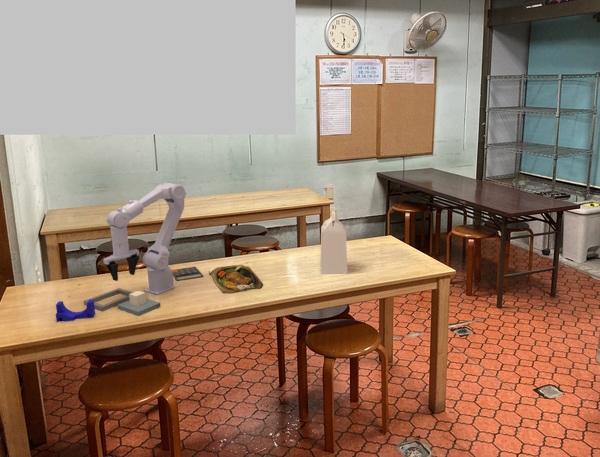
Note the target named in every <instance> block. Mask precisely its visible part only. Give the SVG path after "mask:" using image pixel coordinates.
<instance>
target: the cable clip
mask: <svg viewBox="0 0 600 457" xmlns="http://www.w3.org/2000/svg"><path fill="white" fill-rule="evenodd" d="M55 308H56V313H55V319H56V320H55V321H56V323H60V322H59V321H64V322H75V321H76V320H79V319H94V318H95V316H96V309H95V307H94V299H91V300H89V301H88V302H87V306H86V308H84V309H83V310H82V311H72V310H69V309H68V308H67V307H66V305H65V304H64V301H61V300H60V301H57V303H55ZM74 320H75V321H74Z"/></svg>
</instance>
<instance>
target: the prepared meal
mask: <svg viewBox="0 0 600 457" xmlns="http://www.w3.org/2000/svg"><path fill="white" fill-rule="evenodd" d="M208 273H209V274H208V276H212V279H213V281H214V283H215V285H217V287H218V288H219V290H220V291H221V292H222V293H227V294H232V293H238V292H242V291H247V290H249V289H252V288H253V289H254V288H255V289H262V288H263V287H264V283H263V281H262V280H261V279H260V278H259V276H258V275H257V274H256V273H255V272H254V271H253V270H252V268H250V266H249V265H248V266H246V265H244V264H236V265H235V264H234V265H227V266H219V267H215V268H214V269H212V270H211V271H208ZM240 285H241V286H242V289H241V288H239V287H238V286H240ZM243 285H244V286H243ZM245 285H246V286H245ZM244 287H245V288H244Z"/></svg>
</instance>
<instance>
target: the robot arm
mask: <svg viewBox="0 0 600 457" xmlns="http://www.w3.org/2000/svg"><path fill="white" fill-rule="evenodd" d="M186 195H187V192H186V190H185V188H184V186H183V185H182V184H180V183H177V184H176V183H171V182H169V181H164V182H162V183H161V184H158V185H157V186H156V187H155V188H154V189H153V190H151V191H150V192H148V193H147V194H146V195H144V196H143V197H141V198H140V199H138V200H136V199H133V200H131V199H129V200H128V203H127V204H125V205H124V206H121V207H118V209H117V210H113V211H110V212H109V213H108V215H107V217H106V223H107V224H108V225H109V228H110V234H111V244H112V252H113V253H112V254H111V255H109V256H107V257H105V258H102V259H103V264H104V266H105V267H106V269H107V271H109V274H110V276H111V278H112V280H113V281H116V282H117V281H119V272H118V270H119V263H117V262H118V261H121V260H124V259H126V261H127V264H128V265H127V266H128V271H129V275H131V276H134V275H135V273H136V268H137V265H138V262H139V260H140V256H139V255H140V250H139V249H137V248H135V249H131V250H130V244H129V238H128V237H129V236H128V225H129V223H130V221H133V220H134V219H135V218H136V217H139V215H141V214H142V213H144V210H145V208H146V207H148V206H150V205H151V204H154V203H156V202H157V201H159V200H160V199H163V200H164V201H165V202H166V204H167V205H168V210H167V212H166V215H165V217H164V220H163V222H162V225H161V227H160V229H159V232H158V234H157V237H156V239H155V242H154V243H153V244H152V245H151V246H149V247H148V249H147V251H146V252H145V253H144V255H143V257H142V262H143V264H144V265H145V267H146V272H147V273H146V274H147V281H148V282H147V283H148V288H144V291H145V292H147V293H151V294H154V295H160V294H163V293H165V292H167V291H170V290H173V289H175V287H176V286H175V285H174V277H173V273H172V270H173V269H171V267H170V266H169V263H170V262H169V258H170V255H171V253H170V251H169V246H170V244H171V242H172V239H173V237H174V234H175V231H176V229H177V227H178V224H179V221H180V219H181V217H182V214H183V213H184V212H183V211H184V209H185V198H186ZM144 291H143V292H144Z"/></svg>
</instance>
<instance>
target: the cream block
mask: <svg viewBox="0 0 600 457" xmlns="http://www.w3.org/2000/svg"><path fill="white" fill-rule="evenodd" d="M132 292H133V293H131V294H129V298H130V304H131V305H134V306H140V305H142V304H144V303H146V292H144V291H139V290H136V291H132Z"/></svg>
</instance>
